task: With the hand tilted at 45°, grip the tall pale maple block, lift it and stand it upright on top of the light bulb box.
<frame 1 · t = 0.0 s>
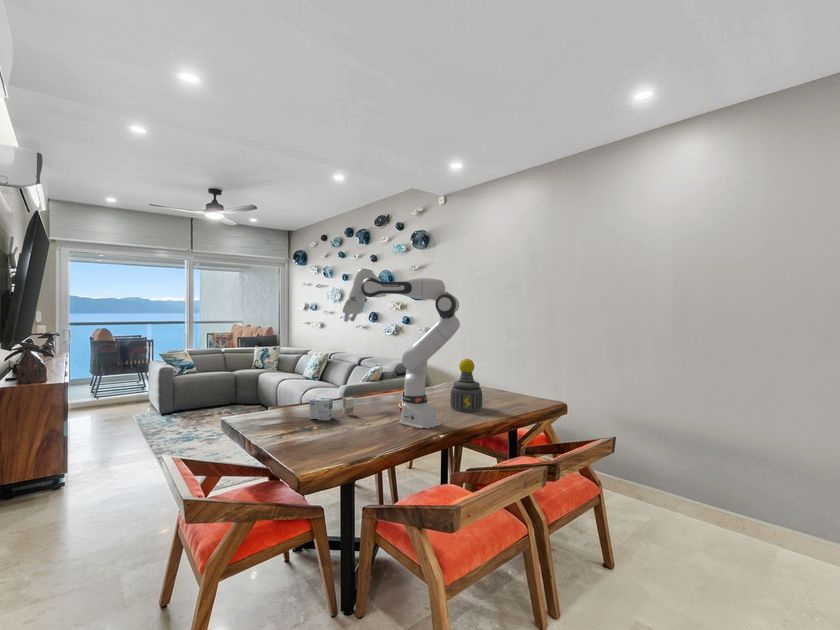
hand: (348, 321, 229), 52 cm above the table, tool tilted 20°, fingers open, 8 cm apart
decorative lamp: (466, 409, 251), on the table
light bulb box: (321, 419, 224), on the table
maple block: (348, 414, 234), on the table
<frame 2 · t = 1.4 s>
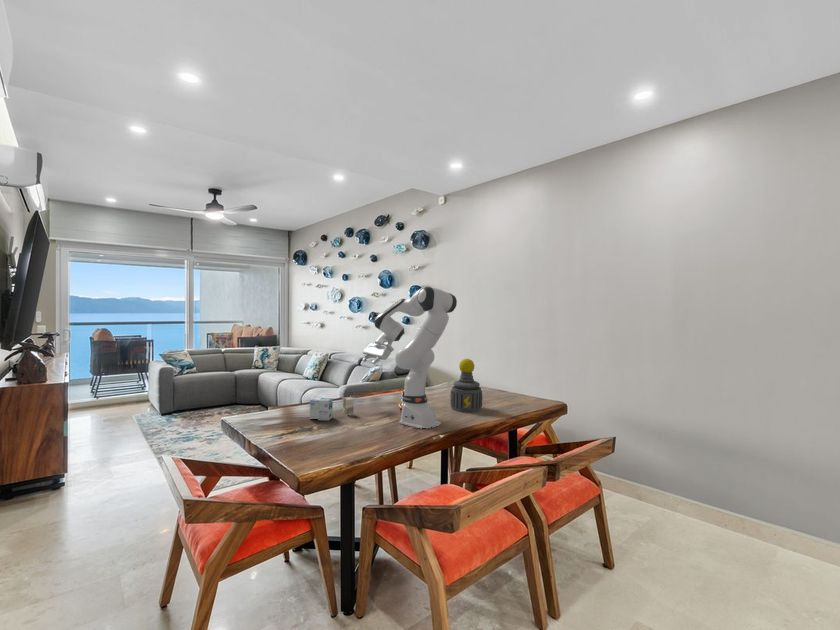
hand: (368, 362, 241), 28 cm above the table, tool tilted 45°, fingers open, 8 cm apart
nothing on the table moved.
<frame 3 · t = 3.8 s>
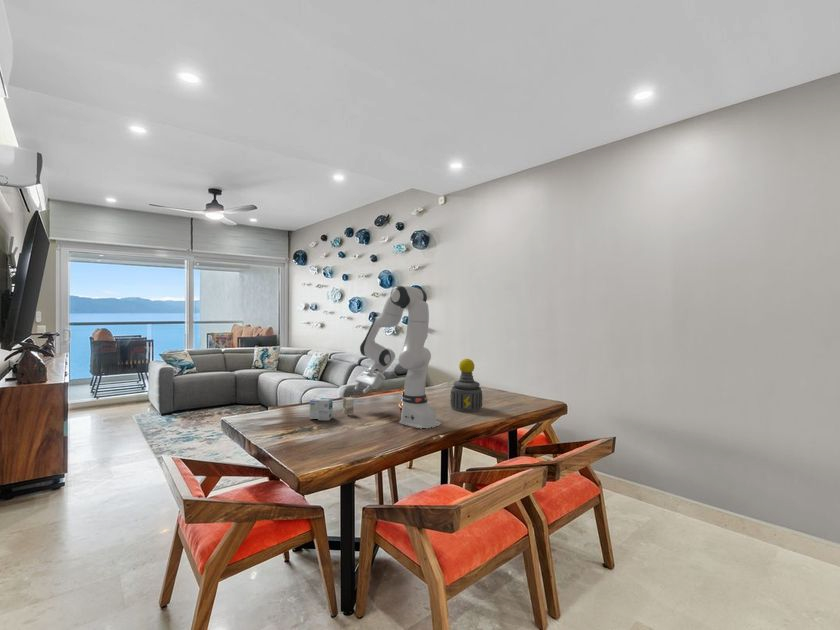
hand: (359, 391, 238), 12 cm above the table, tool tilted 45°, fingers open, 8 cm apart
nothing on the table moved.
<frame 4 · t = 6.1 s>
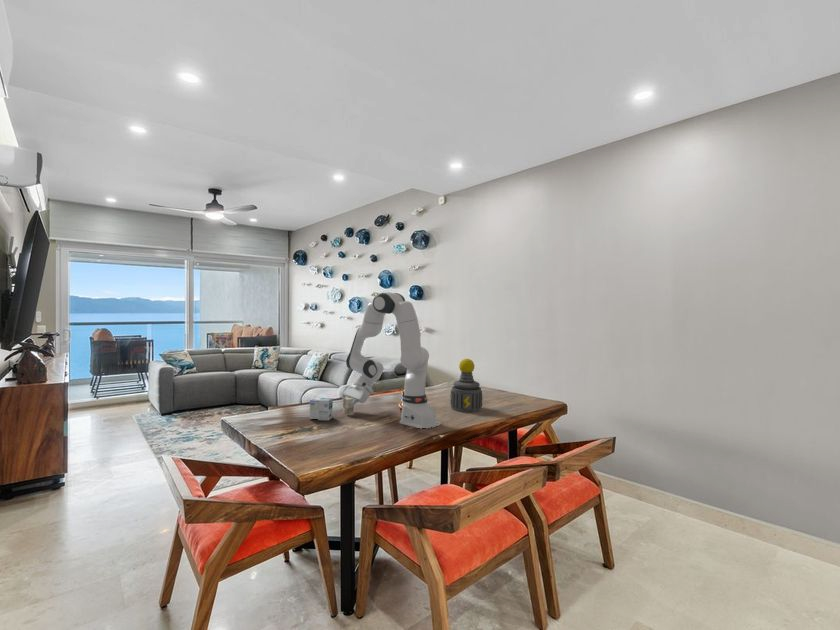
hand: (347, 405, 233), 5 cm above the table, tool tilted 45°, fingers closed on maple block, 5 cm apart
maple block: (348, 414, 234), on the table, touching gripper
everything else where it was.
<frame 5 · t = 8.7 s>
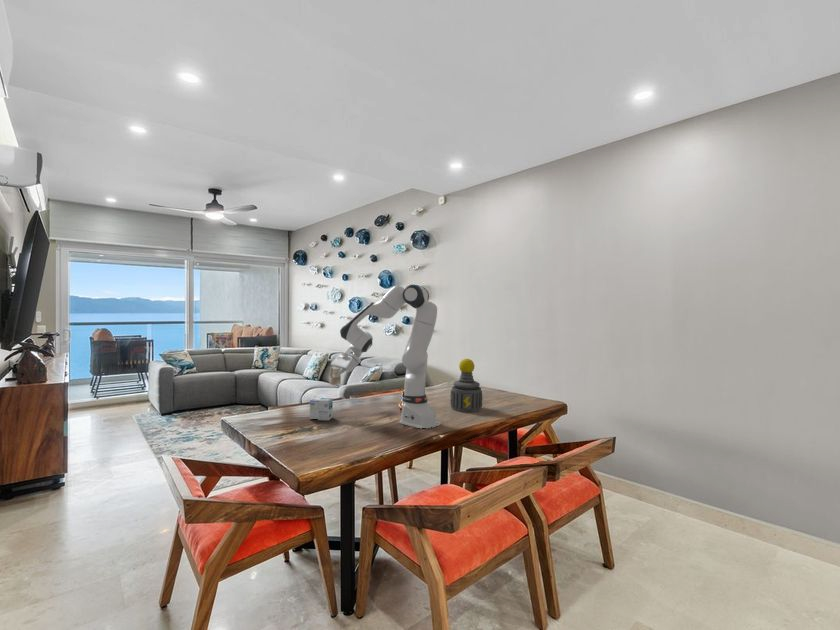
hand: (334, 374, 228), 23 cm above the table, tool tilted 45°, fingers closed on maple block, 5 cm apart
maple block: (335, 384, 229), point 18 cm above the table, touching gripper
everything else where it was.
when the fingers open (18 cm above the table, at t = 11.1 s): maple block drops 2 cm, resting on light bulb box.
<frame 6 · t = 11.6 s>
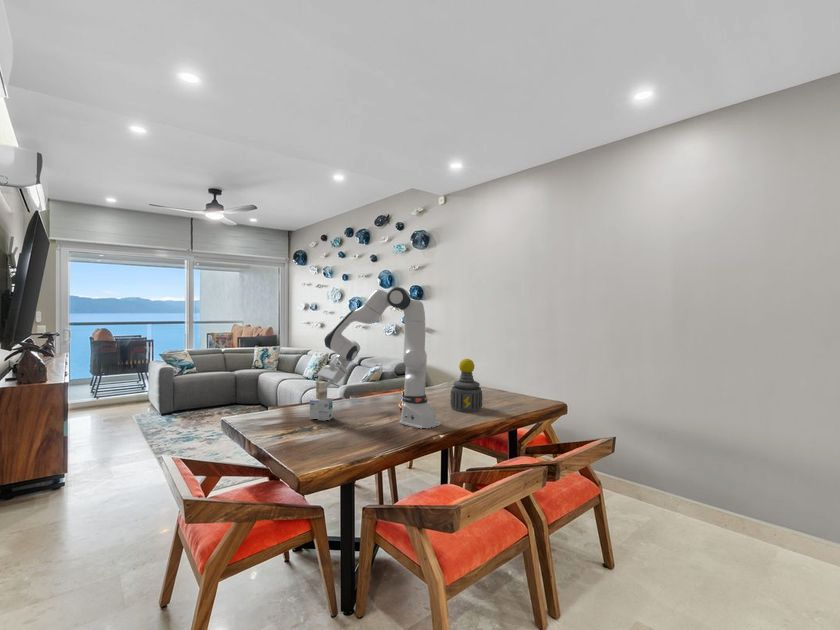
hand: (320, 385, 223), 18 cm above the table, tool tilted 45°, fingers open, 8 cm apart
light bulb box: (321, 419, 224), on the table, touching maple block
maple block: (321, 398, 224), point 11 cm above the table, touching light bulb box
everything else where it was.
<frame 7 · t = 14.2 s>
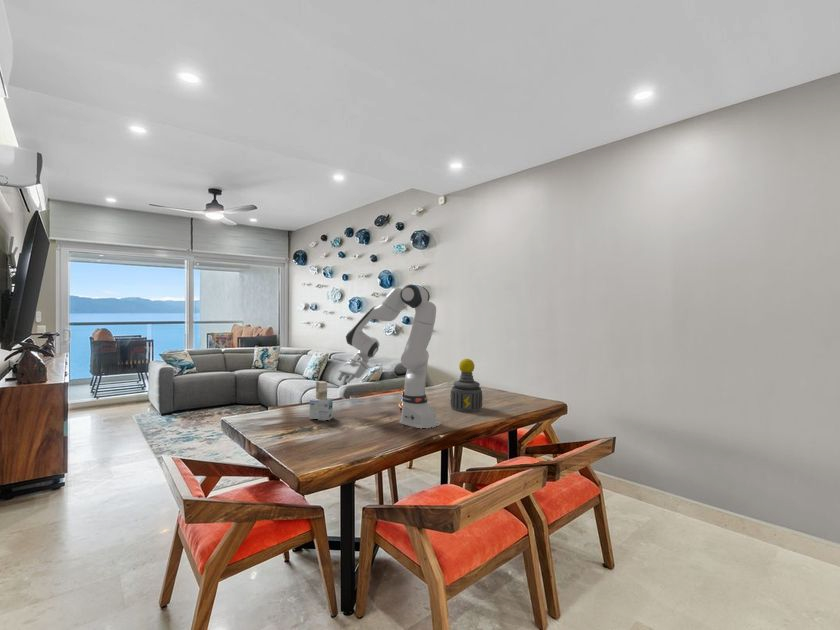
hand: (342, 381, 231), 19 cm above the table, tool tilted 45°, fingers open, 8 cm apart
nothing on the table moved.
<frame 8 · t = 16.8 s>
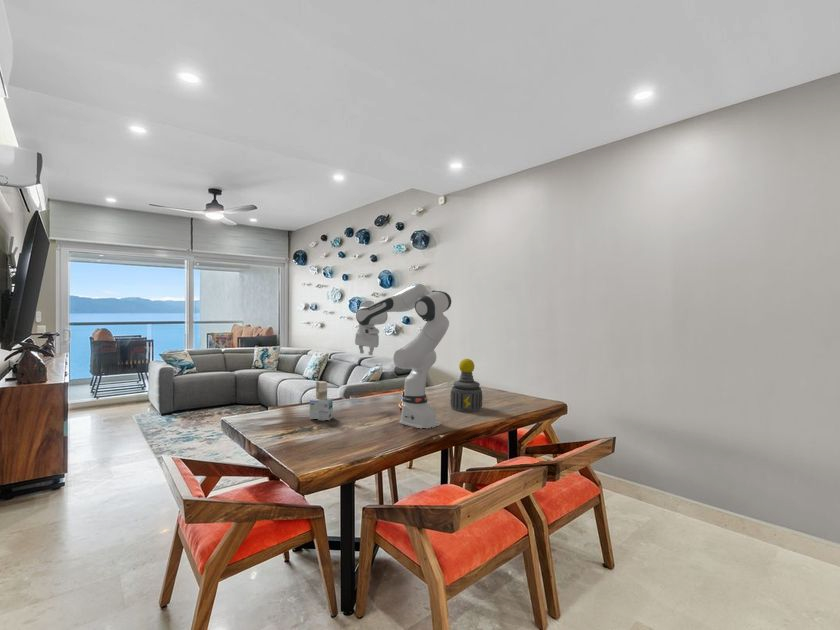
hand: (366, 354, 238), 33 cm above the table, tool pointing down, fingers open, 8 cm apart
nothing on the table moved.
at the end: maple block 0.0 cm off-centre on the light bulb box, point 11.0 cm above the light bulb box's base; maple block tilted 0°; the gripper is holding nothing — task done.
